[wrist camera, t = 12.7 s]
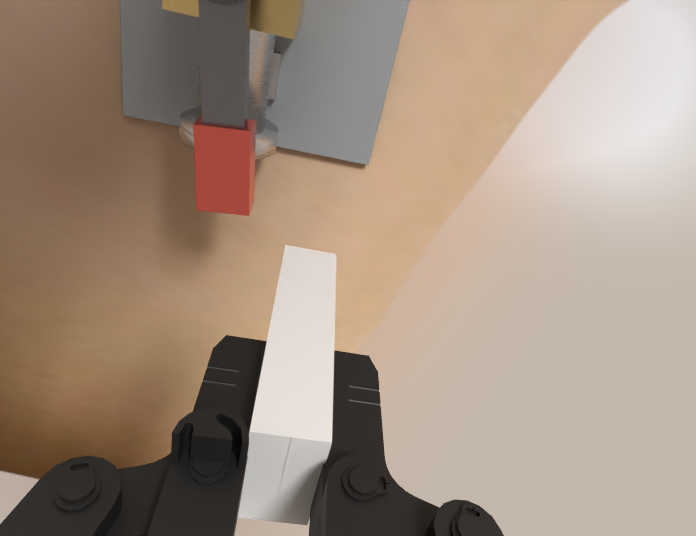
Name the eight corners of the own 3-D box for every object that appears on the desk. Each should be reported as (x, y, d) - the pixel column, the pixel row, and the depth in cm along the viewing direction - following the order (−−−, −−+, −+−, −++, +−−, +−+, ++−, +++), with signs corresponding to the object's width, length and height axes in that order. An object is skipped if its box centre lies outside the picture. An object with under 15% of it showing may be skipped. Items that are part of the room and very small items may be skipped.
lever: (179, -117, 22) (166, -122, 21) (278, -102, 23) (272, -105, 21) (193, 194, 31) (184, 208, 29) (265, 202, 31) (260, 217, 29)
